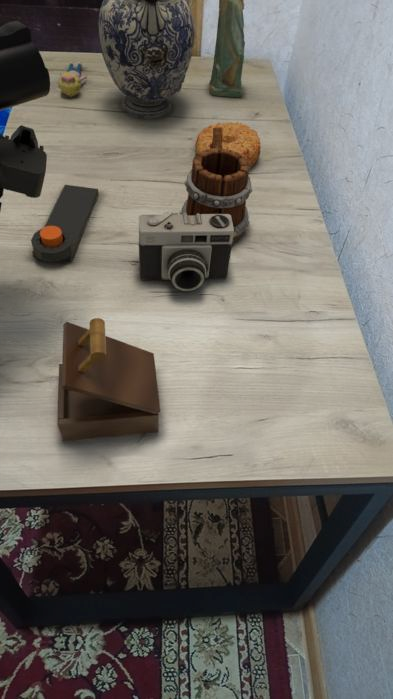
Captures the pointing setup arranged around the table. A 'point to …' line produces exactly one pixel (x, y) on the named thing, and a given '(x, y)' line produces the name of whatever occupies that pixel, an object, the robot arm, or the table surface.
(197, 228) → the camera
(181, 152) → the table surface
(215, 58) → the statue
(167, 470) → the table surface
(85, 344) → the lid
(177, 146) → the table surface
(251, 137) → the bagel
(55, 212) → the block
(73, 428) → the chest
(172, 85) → the decorative vase
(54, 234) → the button
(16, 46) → the robot arm
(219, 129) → the mug
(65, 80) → the figurine
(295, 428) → the table surface
